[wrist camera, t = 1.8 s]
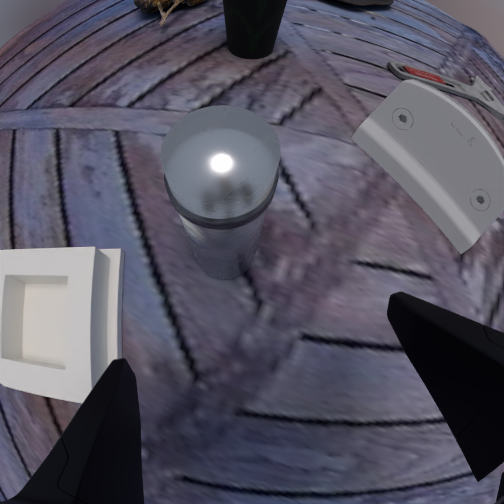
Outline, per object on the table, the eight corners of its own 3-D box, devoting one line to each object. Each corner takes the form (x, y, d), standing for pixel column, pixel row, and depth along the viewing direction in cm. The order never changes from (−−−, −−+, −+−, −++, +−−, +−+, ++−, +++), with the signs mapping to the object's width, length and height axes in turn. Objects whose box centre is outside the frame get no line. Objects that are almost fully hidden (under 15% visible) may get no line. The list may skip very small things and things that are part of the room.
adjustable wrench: (375, 46, 35) (380, 36, 33) (496, 94, 36) (501, 87, 34) (388, 80, 33) (394, 69, 31) (512, 129, 34) (519, 122, 32)
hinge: (347, 136, 28) (400, 58, 20) (365, 127, 31) (412, 60, 22) (462, 257, 25) (535, 199, 17) (468, 235, 28) (530, 182, 20)
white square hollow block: (124, 406, 20) (104, 416, 16) (8, 385, 19) (-19, 386, 15) (124, 252, 23) (106, 235, 19) (14, 255, 22) (-11, 241, 18)
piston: (258, 281, 23) (290, 204, 11) (192, 282, 23) (150, 207, 10) (255, 220, 25) (278, 103, 12) (193, 221, 24) (164, 105, 12)
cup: (256, 72, 30) (267, -20, 19) (205, 49, 31) (203, -34, 19) (293, 47, 32) (309, -32, 21) (245, 26, 33) (250, -47, 22)
